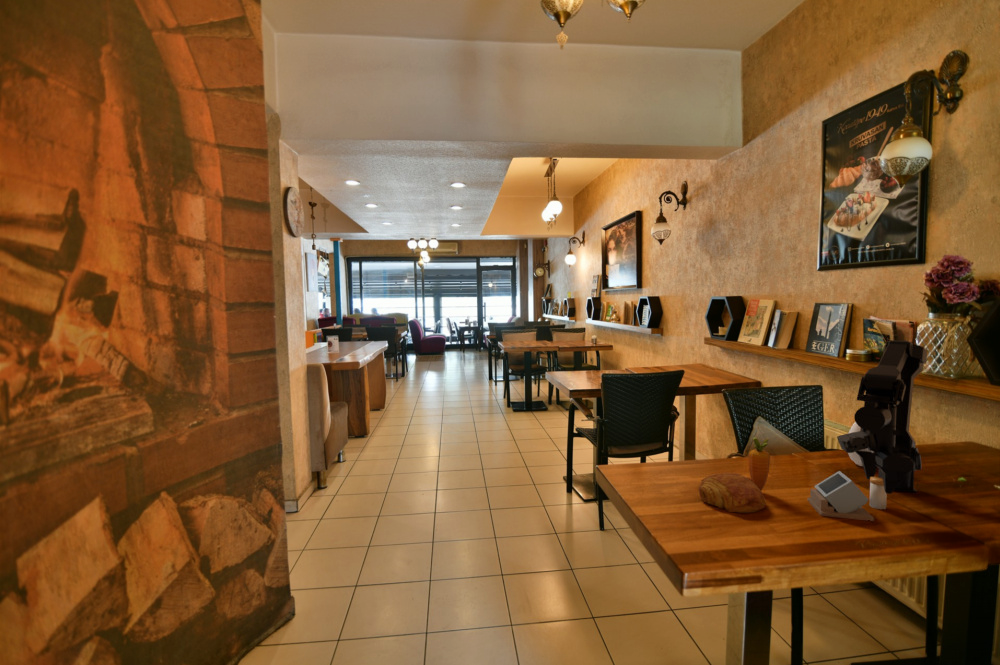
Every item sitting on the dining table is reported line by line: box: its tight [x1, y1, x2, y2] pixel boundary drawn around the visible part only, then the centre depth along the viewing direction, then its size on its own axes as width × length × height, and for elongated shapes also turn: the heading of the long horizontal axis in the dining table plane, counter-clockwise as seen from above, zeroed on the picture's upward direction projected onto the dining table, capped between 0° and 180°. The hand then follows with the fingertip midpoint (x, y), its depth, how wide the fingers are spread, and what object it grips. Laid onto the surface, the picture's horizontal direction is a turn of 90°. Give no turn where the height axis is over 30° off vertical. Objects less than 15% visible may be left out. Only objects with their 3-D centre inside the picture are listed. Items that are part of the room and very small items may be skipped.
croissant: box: [698, 472, 767, 514], centre depth 117 cm, size 14×16×8 cm
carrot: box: [748, 436, 771, 491], centre depth 123 cm, size 5×5×15 cm
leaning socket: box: [807, 470, 875, 522], centre depth 111 cm, size 11×9×9 cm
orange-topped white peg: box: [868, 476, 888, 510], centre depth 113 cm, size 3×3×7 cm
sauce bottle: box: [847, 422, 863, 467], centre depth 143 cm, size 8×8×18 cm
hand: (878, 486), depth 113 cm, fingers open, 9 cm apart
